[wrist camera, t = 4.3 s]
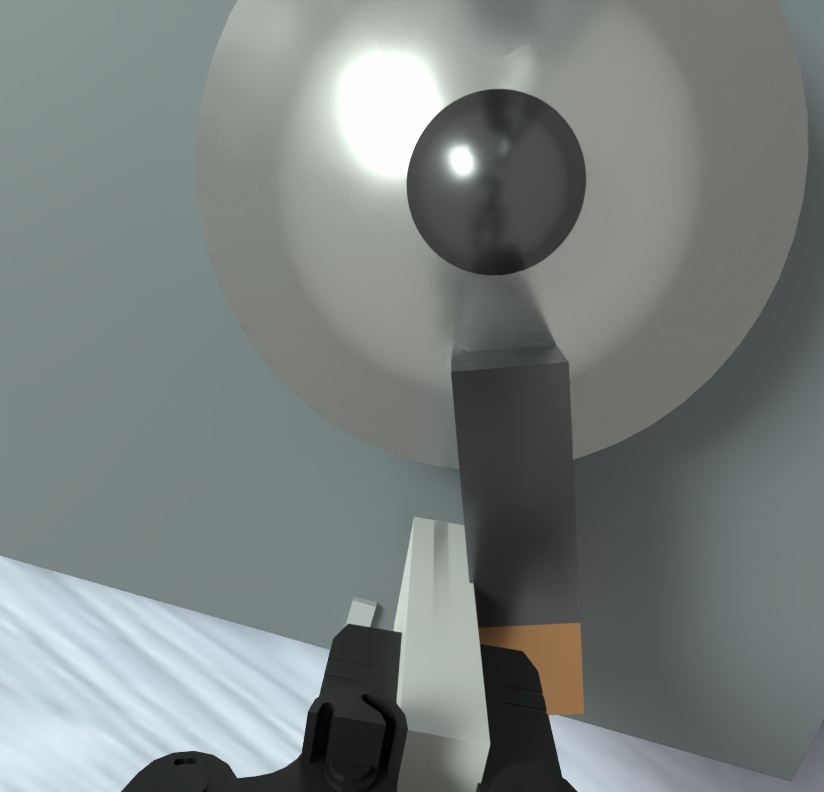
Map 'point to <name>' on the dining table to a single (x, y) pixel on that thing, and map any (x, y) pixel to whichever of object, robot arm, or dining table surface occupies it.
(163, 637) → the dining table surface
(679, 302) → the dial
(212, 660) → the dining table surface
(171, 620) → the dining table surface
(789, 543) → the dial board
